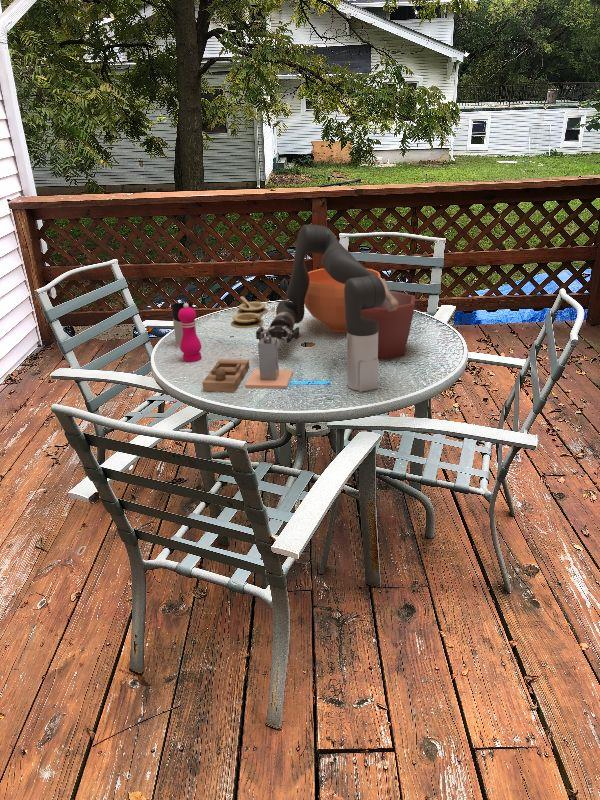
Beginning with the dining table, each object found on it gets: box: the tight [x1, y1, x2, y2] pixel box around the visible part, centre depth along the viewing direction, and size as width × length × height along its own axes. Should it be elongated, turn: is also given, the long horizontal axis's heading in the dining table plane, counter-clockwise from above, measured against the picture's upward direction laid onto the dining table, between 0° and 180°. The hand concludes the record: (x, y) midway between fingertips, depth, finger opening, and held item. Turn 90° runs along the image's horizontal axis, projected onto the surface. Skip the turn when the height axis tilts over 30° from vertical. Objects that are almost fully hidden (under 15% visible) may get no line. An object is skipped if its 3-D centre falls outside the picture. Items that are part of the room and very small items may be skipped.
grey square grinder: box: [257, 335, 280, 380], centre depth 196 cm, size 5×5×13 cm
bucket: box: [361, 278, 416, 361], centre depth 213 cm, size 24×22×25 cm
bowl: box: [304, 267, 382, 333], centre depth 241 cm, size 30×30×20 cm
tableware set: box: [230, 296, 276, 329], centre depth 262 cm, size 30×20×6 cm, turn 177°
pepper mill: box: [178, 303, 202, 363], centre depth 215 cm, size 7×7×20 cm
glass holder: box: [171, 301, 197, 348], centre depth 229 cm, size 9×14×15 cm, turn 28°
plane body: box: [202, 358, 250, 393], centre depth 200 cm, size 20×10×6 cm, turn 172°
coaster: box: [244, 368, 294, 389], centre depth 199 cm, size 13×13×1 cm
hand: (274, 340), depth 205 cm, fingers open, 8 cm apart
